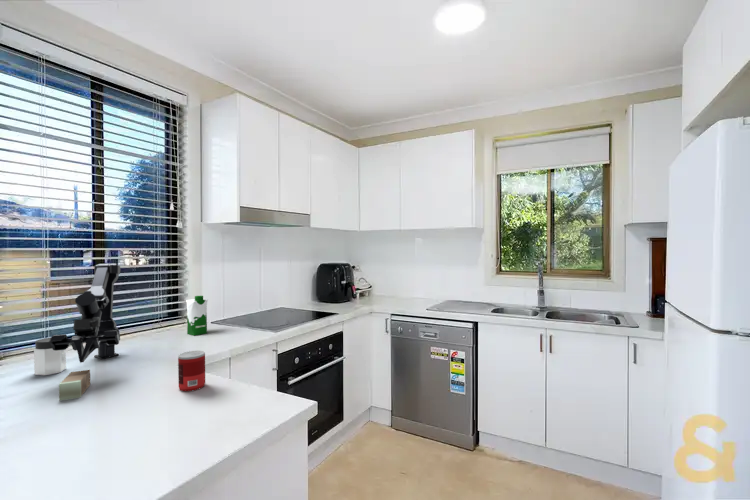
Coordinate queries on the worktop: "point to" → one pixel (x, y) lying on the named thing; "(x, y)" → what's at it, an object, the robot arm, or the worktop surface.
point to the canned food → (191, 370)
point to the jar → (48, 358)
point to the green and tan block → (74, 385)
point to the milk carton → (197, 316)
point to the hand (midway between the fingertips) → (81, 361)
